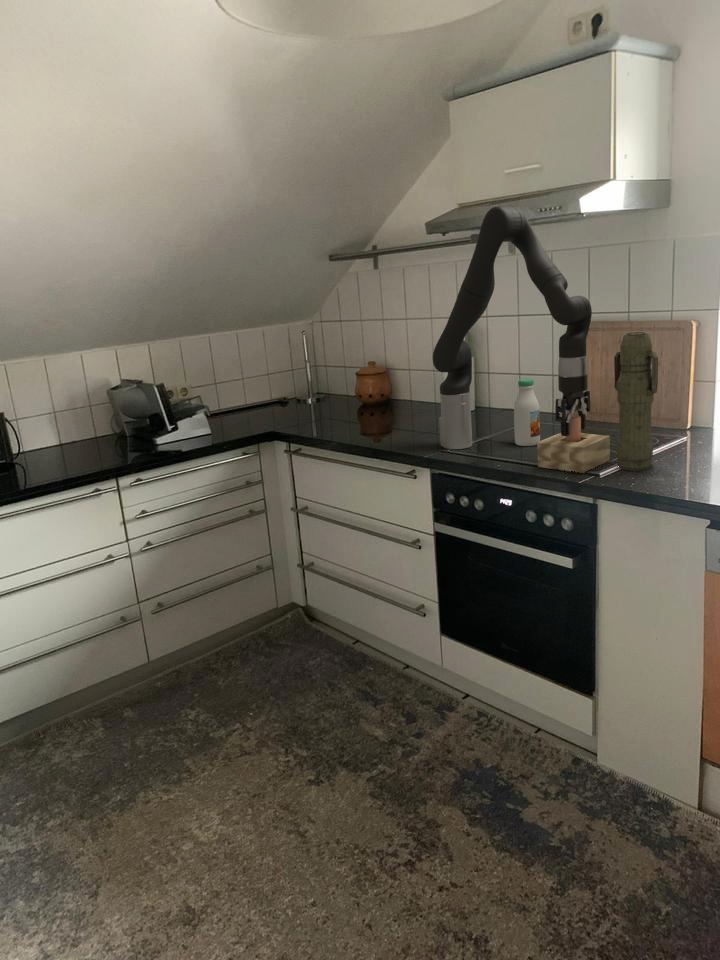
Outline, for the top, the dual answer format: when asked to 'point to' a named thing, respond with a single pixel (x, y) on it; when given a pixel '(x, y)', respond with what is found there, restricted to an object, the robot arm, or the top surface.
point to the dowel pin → (574, 429)
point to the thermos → (635, 400)
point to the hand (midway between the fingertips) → (573, 432)
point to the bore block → (573, 452)
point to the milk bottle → (526, 415)
